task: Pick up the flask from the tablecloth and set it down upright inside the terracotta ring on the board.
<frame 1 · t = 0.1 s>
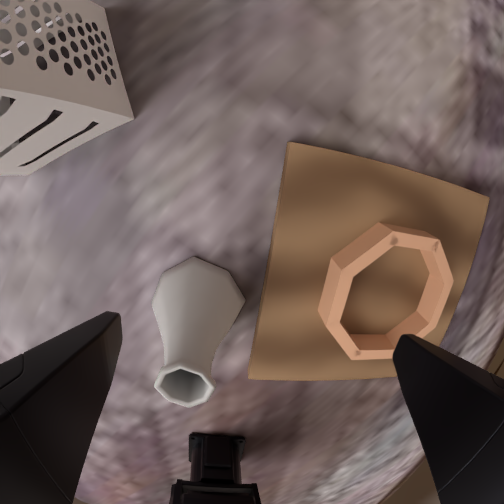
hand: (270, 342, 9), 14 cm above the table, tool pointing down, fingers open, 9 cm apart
board: (377, 283, 25), on the table
grater: (60, 89, 18), on the table
flask: (198, 298, 24), on the table
ring: (390, 296, 23), on the board, point 2 cm above the table
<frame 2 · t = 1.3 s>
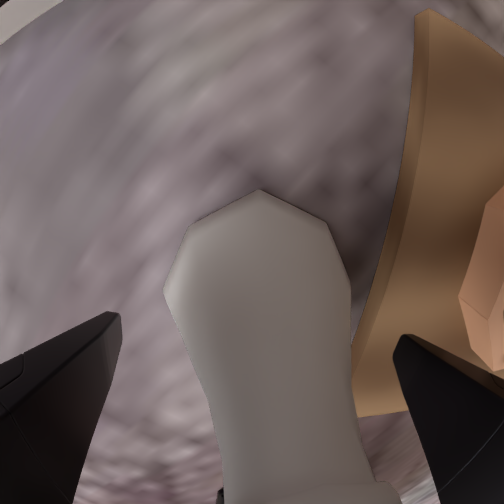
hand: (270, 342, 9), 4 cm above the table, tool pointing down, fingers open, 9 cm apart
flask: (257, 282, 13), on the table
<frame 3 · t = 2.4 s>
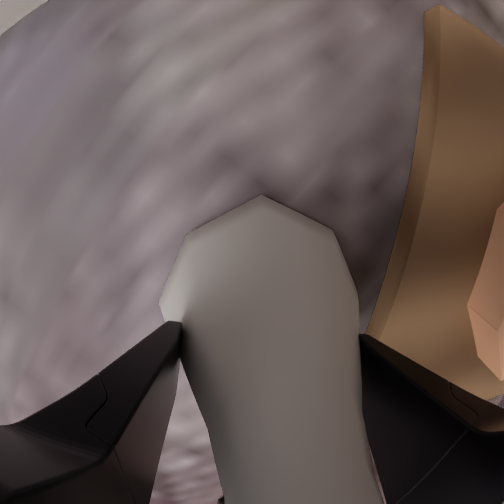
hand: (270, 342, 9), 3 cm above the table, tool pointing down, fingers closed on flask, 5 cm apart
flask: (259, 292, 12), on the table, touching gripper
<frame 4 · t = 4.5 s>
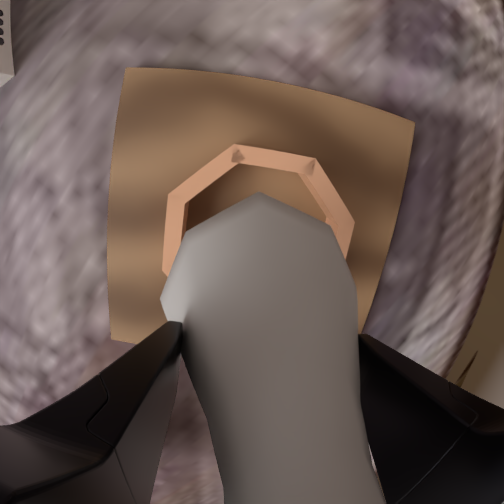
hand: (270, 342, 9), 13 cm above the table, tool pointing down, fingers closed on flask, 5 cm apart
board: (253, 229, 21), on the table
flask: (259, 288, 12), point 10 cm above the table, touching gripper
ring: (257, 239, 19), on the board, point 2 cm above the table
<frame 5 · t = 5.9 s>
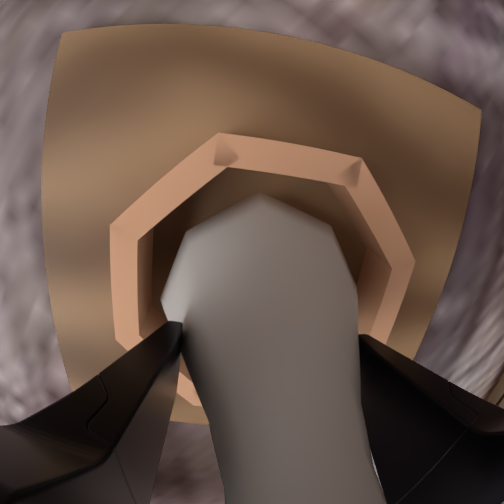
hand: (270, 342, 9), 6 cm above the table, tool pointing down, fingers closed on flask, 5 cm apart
board: (256, 266, 14), on the table
flask: (259, 288, 12), point 2 cm above the table, touching gripper
ring: (262, 290, 12), on the board, point 2 cm above the table
when the fingers open (5 cm above the table, at t = 6.7 s): flask stays where it is, resting on board.
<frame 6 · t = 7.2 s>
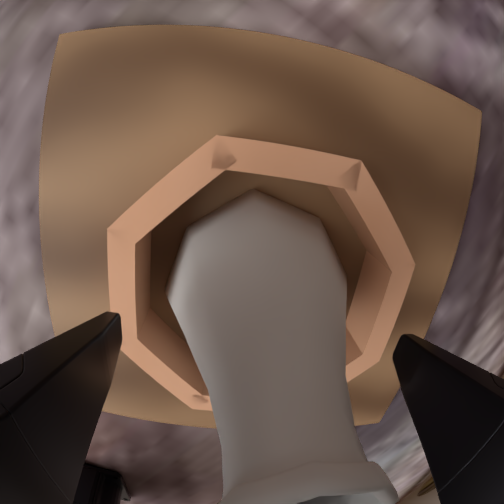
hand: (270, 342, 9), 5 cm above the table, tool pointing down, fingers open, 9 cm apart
board: (255, 269, 14), on the table
flask: (256, 278, 13), point 1 cm above the table, touching board
ring: (260, 294, 12), on the board, point 2 cm above the table
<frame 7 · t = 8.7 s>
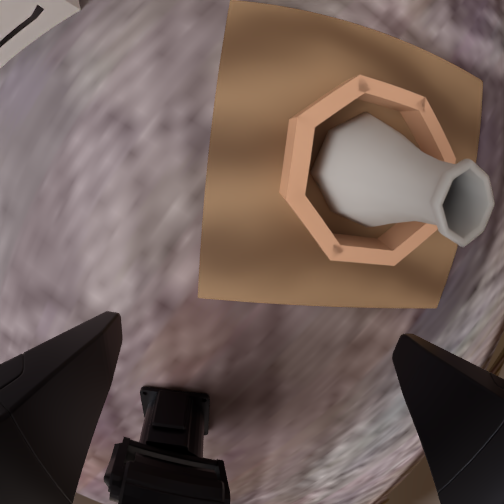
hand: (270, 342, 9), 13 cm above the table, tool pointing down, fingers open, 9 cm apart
board: (359, 168, 20), on the table
grater: (22, 4, 12), on the table
flask: (364, 169, 19), point 1 cm above the table, touching board
ring: (374, 172, 17), on the board, point 2 cm above the table
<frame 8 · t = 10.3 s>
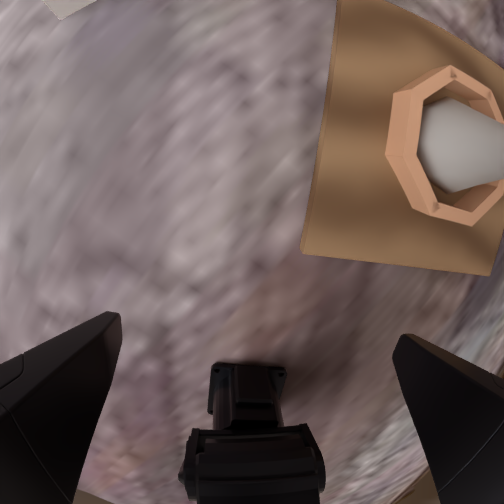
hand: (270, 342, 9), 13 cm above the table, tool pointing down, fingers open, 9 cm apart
board: (438, 144, 20), on the table
flask: (445, 144, 19), point 1 cm above the table, touching board
ring: (456, 145, 17), on the board, point 2 cm above the table
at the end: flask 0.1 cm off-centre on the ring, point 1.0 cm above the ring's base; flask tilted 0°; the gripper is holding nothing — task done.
